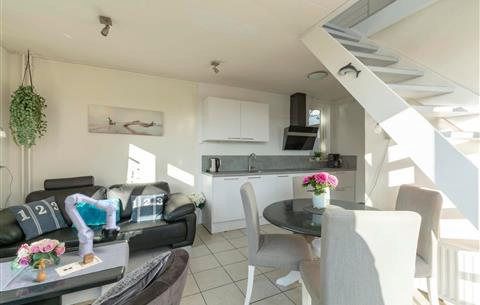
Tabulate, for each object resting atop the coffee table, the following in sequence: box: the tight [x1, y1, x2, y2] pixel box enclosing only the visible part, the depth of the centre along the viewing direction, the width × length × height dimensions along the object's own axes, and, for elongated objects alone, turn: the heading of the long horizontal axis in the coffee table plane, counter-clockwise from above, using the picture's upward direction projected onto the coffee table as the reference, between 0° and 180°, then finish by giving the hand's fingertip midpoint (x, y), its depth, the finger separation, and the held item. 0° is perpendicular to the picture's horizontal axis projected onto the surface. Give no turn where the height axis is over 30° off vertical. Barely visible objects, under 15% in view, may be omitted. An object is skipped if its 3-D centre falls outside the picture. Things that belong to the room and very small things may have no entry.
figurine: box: [31, 257, 52, 282], centre depth 119 cm, size 8×6×12 cm
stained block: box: [82, 253, 95, 265], centre depth 138 cm, size 4×4×5 cm
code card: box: [54, 255, 104, 277], centre depth 134 cm, size 13×22×1 cm, turn 142°
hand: (110, 239), depth 154 cm, fingers open, 7 cm apart
